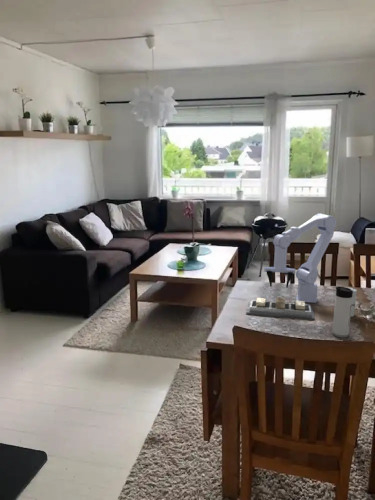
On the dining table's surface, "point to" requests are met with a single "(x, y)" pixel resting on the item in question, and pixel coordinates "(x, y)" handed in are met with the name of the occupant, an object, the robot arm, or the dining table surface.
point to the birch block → (280, 303)
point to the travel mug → (342, 312)
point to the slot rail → (290, 311)
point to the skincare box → (353, 301)
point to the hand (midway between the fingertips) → (278, 286)
